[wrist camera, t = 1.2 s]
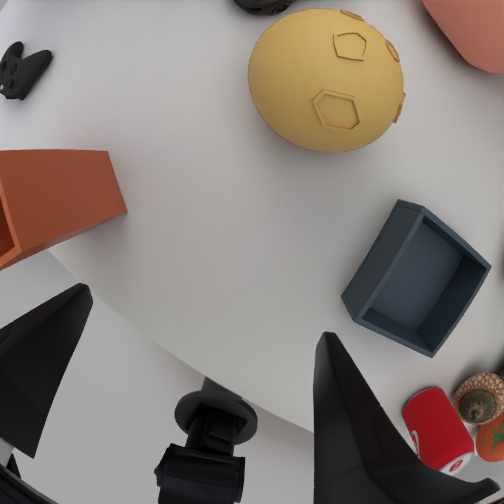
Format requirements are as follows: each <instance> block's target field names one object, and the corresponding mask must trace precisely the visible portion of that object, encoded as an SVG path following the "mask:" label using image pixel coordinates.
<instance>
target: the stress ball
mask: <svg viewBox="0 0 504 504" xmlns="http://www.w3.org/2000/svg"><path fill="white" fill-rule="evenodd" d="M399 62H400V59H399V56H398V53H397V52H396V50H395V48H394V47H393V45H392V44H391V43H390V42H389V41H388V40H386V39H385V38H384V37H383V35H382V34H381V33H380V32H379V31H378V30H376V29H375V28H374V27H373V26H371V25H370V24H368V23H367V22H365V21H364V19H363V18H362V17H360V16H358V15H356V14H353V13H351V12H348V11H344V10H341V11H338V10H332V9H307V10H302V11H298V12H295V13H292V14H289V15H287V16H285V17H283V18H281V19H279V20H278V21H276V22H275V23H274V24H272V25H271V26H270V27H269V28H268V29H267V30H266V31H265V32H264V33H263V34H262V35H261V37H260V38H259V40H258V41H257V43H256V45H255V47H254V49H253V51H252V54H251V57H250V60H249V66H248V82H249V90H250V93H251V96H252V100H253V102H254V104H255V106H256V108H257V110H258V112H259V113H260V115H261V116H262V118H263V119H264V120H265V121H266V122H267V124H268V125H269V126H270V127H271V128H272V129H273V130H274V131H276V132H277V133H278V134H279V135H280V136H282V137H283V138H285V139H286V140H288V141H290V142H292V143H294V144H296V145H298V146H300V147H303V148H306V149H309V150H314V151H319V152H329V153H334V152H345V151H351V150H355V149H357V148H360V147H363V146H365V145H367V144H369V143H371V142H373V141H374V140H376V139H377V138H378V137H380V136H381V135H382V134H383V133H384V132H385V131H386V130H387V129H388V128H389V126H390V125H391V124H392V123H393V122H394V123H396V122H397V120H398V117H399V115H400V113H401V109H402V105H403V102H404V98H405V97H406V94H405V93H404V92H403V74H402V70H401V66H400V63H399Z"/></svg>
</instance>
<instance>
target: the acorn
mask: <svg viewBox="0 0 504 504" xmlns="http://www.w3.org/2000/svg"><path fill="white" fill-rule="evenodd" d="M454 408H455V411H456V412H457V414H458V416H459V417H460V419H461V420H463V421H465V422H467V423H469V424H473V425H483V424H486V423H488V422H490V421H492V420H494V419H495V418H496V417H498V415H499V414H500V413H501V412H502V411H503V409H504V381H503V380H502V379H501V378H500V377H498V375H496V374H493V373H492V372H480V373H478V374H475V375H474V376H472V377H470V378H468V379H467V380H466V381H465V382H464V383H463V384H461V385H460V387H459V388H458V390H457V391H456V394H455V400H454Z"/></svg>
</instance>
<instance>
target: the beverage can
mask: <svg viewBox="0 0 504 504" xmlns="http://www.w3.org/2000/svg"><path fill="white" fill-rule="evenodd" d="M402 417H403V419H404V421H405V424H406V426H407V428H408V431H409V433H410V435H411V438H412V440H413V443H414V445H415V447H416V450H417V452H418V455H419V457H420V460H421V461H422V462H423V463H425V464H426V465H428V466H429V467H431V468H434V469H436V470H438V471H441V472H443V473H445V474H448V475H450V476H454V475H456V474H457V473H459V472H460V471H461V470H463V469H464V468H465V467H467V466H468V465H469V464H470V463H471V462H472V460H473V459H474V457H475V453H474V441H473V440H472V438H471V436H470V434H469V433H468V431H467V429H466V427H465V426H464V424H463V422H462V421H461V419H460V417H459V416H458V414H457V412H456V411H455V409H454V407H453V406H452V404H451V403H450V401H449V399H448V398H447V396H446V395H445V393H444V391H443V390H442V389H441V388H438V387H433V388H428V389H425V390H422V391H420V392H419V393H417V394H416V395H414V396H413V397H412V398H411V399H410V400H409V401H408V403H407V404H406V405H405V407H404V409H403V412H402Z"/></svg>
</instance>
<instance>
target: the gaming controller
mask: <svg viewBox="0 0 504 504" xmlns="http://www.w3.org/2000/svg"><path fill="white" fill-rule="evenodd" d="M22 49H23V43H22V42H20V41H19V42H15V43H14V44H12V45H11V46H10V47H9V48H8V49H7V51H6V52H5V54H4V56H3V58H2V60H1V62H0V93H1V94H3V95H4V96H5V97H6V99H16V98H19V99H20V100H23V99H24V97H25V95H26V94H27V93H28V89H29V86H30V85H31V84H32V82H33V81H34V80H35V79H36V78H37V77H38V75H39V74H40V73H41V72H42V71H43V70H44V69H45V68H46V66H47V65H48V64H49V62H50V60H51V57H52V54H51V52H50V51H49V50H43V51H40V52H37V53H35V54H33V55H31V56H28V57H26V58H24V59H21V58H19V56H20V54H21V52H22Z"/></svg>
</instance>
